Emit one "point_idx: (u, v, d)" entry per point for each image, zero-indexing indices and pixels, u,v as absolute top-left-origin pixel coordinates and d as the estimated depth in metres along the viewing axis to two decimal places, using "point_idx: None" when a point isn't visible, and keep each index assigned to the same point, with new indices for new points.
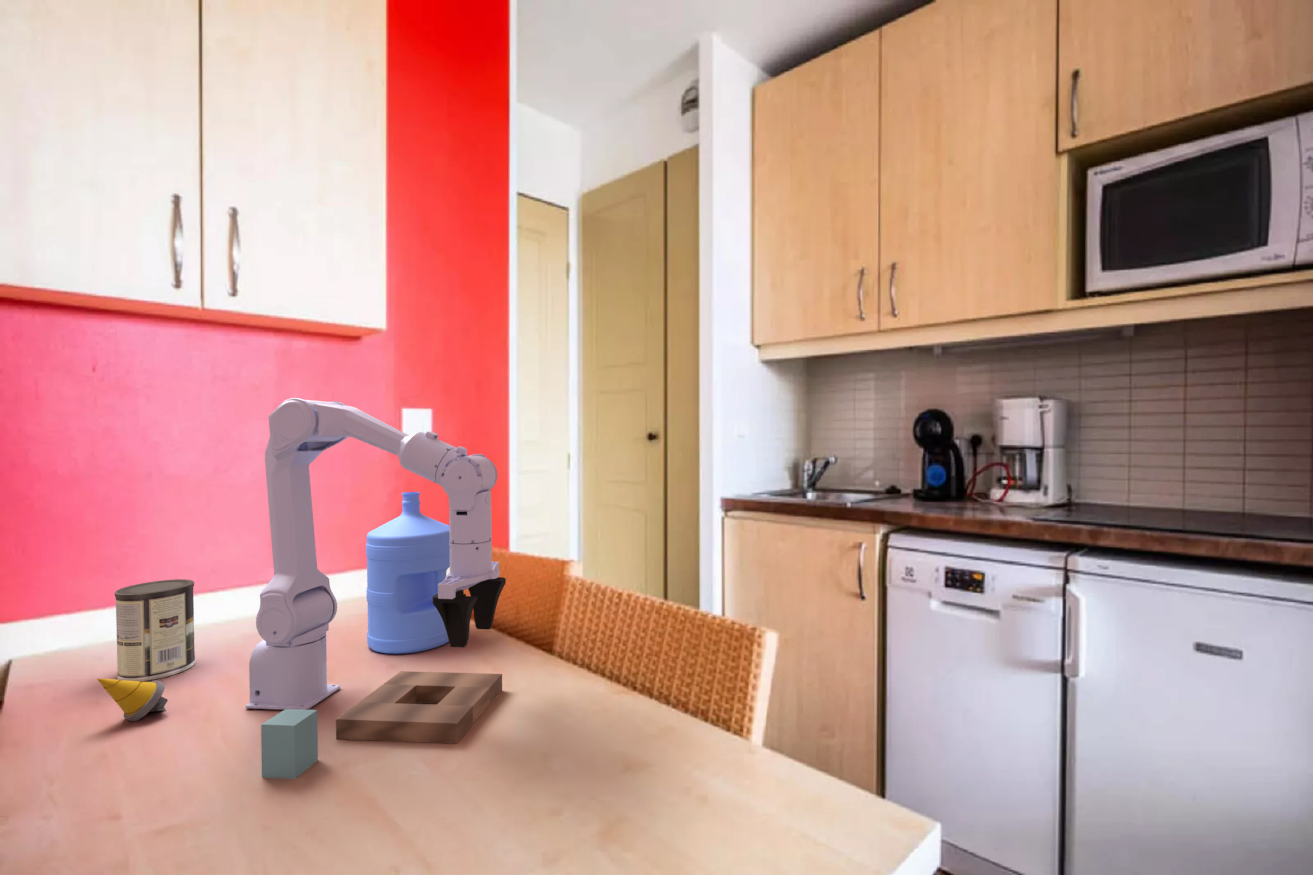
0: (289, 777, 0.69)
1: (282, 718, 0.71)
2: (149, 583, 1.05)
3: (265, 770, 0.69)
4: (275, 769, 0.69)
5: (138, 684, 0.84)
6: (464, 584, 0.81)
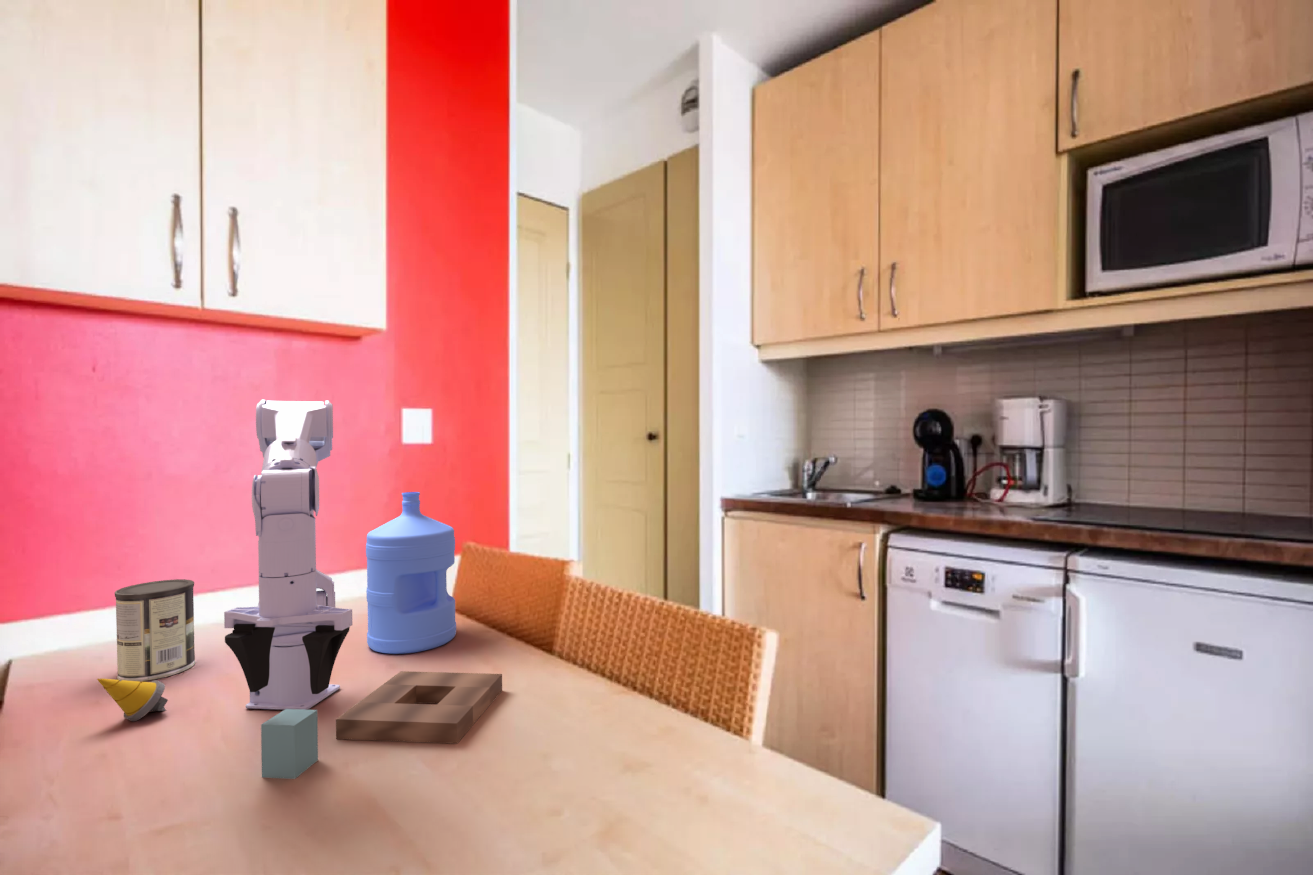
0: (289, 777, 0.69)
1: (282, 718, 0.71)
2: (149, 583, 1.05)
3: (265, 770, 0.69)
4: (275, 769, 0.69)
5: (138, 684, 0.84)
6: (240, 618, 0.70)
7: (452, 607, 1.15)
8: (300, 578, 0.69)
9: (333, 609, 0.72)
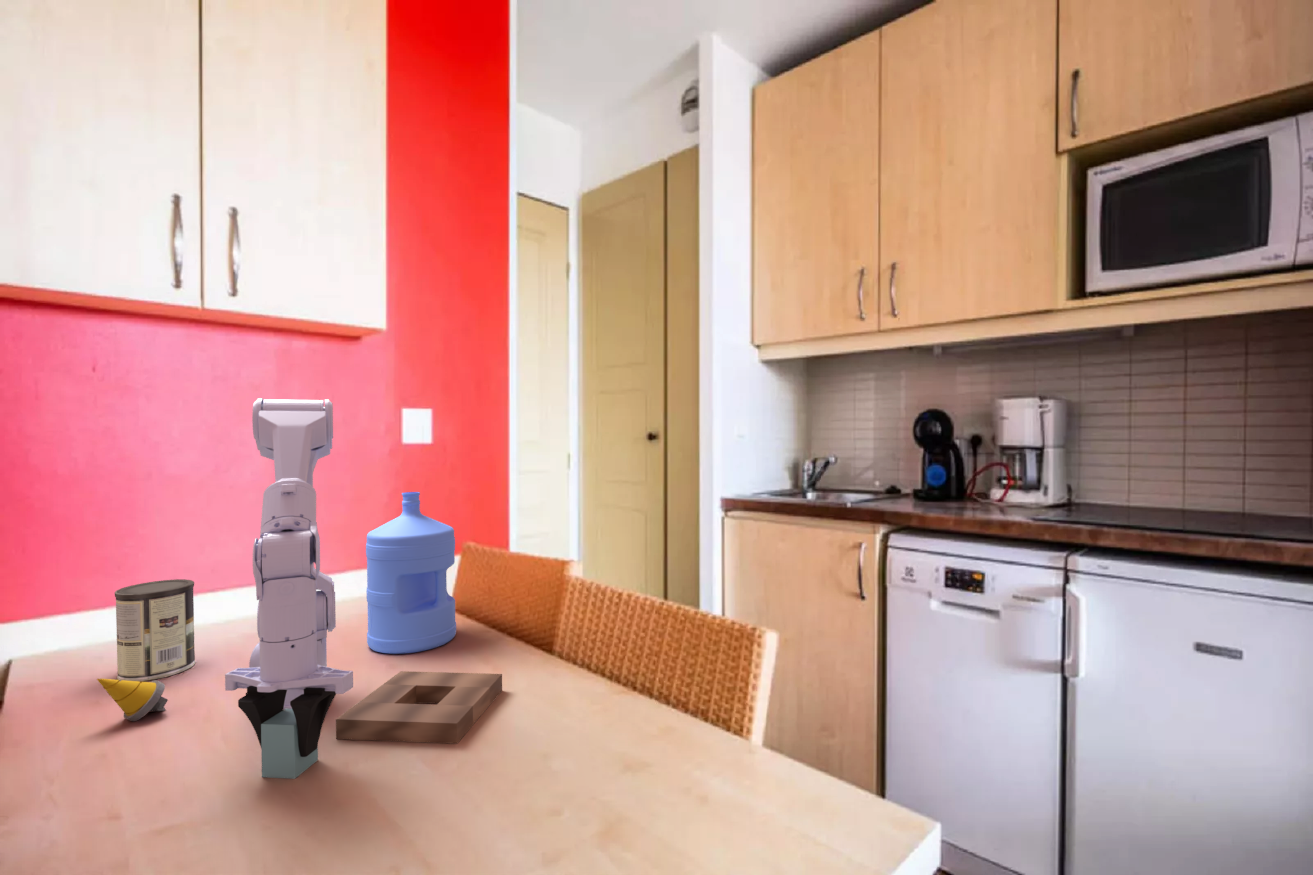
0: (289, 777, 0.69)
1: (282, 717, 0.71)
2: (149, 583, 1.05)
3: (265, 770, 0.69)
4: (275, 769, 0.69)
5: (138, 684, 0.84)
6: (240, 681, 0.70)
7: (452, 607, 1.15)
8: (301, 642, 0.69)
9: (334, 671, 0.72)
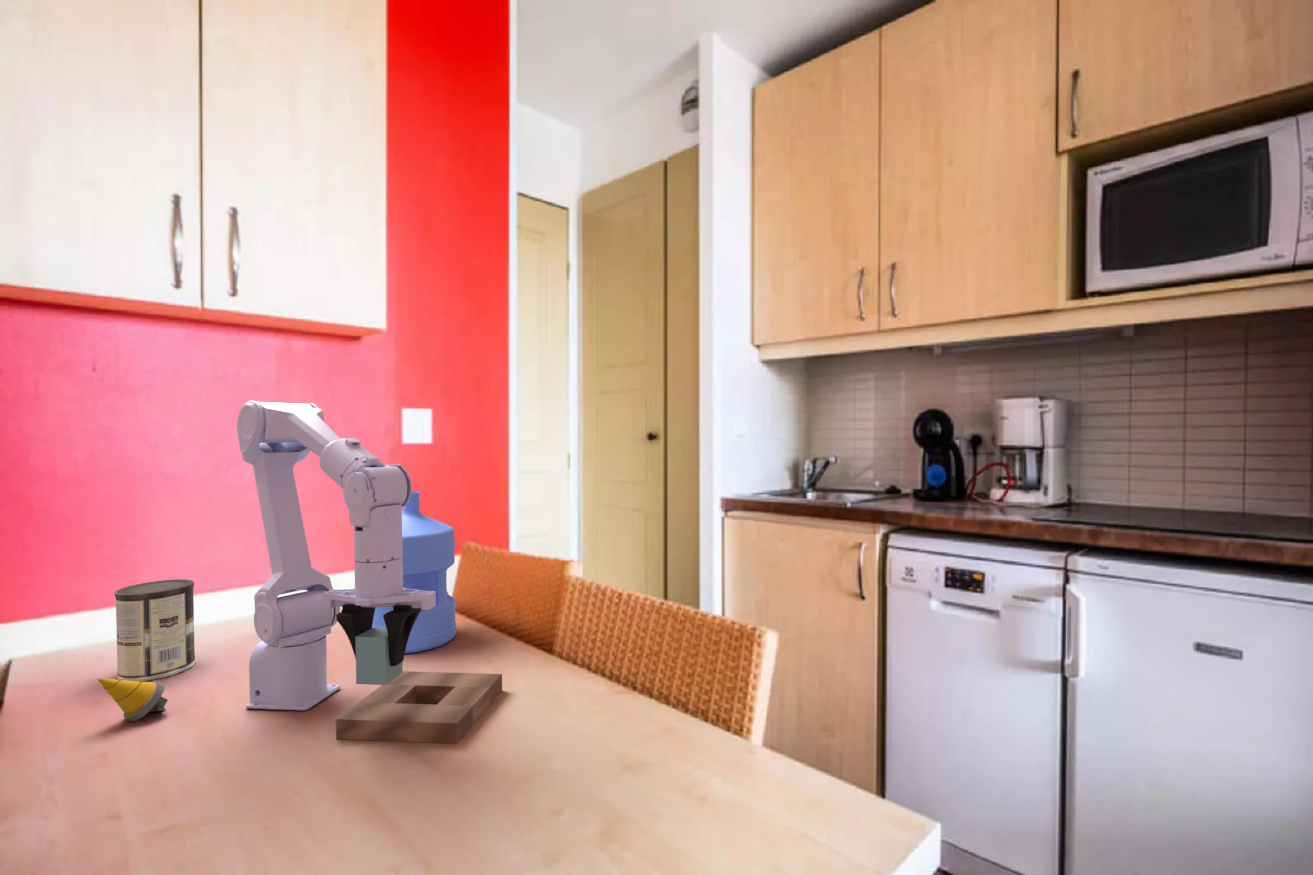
0: (380, 683, 0.78)
1: (372, 633, 0.79)
2: (149, 583, 1.05)
3: (359, 677, 0.78)
4: (368, 676, 0.78)
5: (138, 684, 0.84)
6: (337, 598, 0.79)
7: (452, 607, 1.15)
8: (391, 563, 0.78)
9: (418, 591, 0.80)
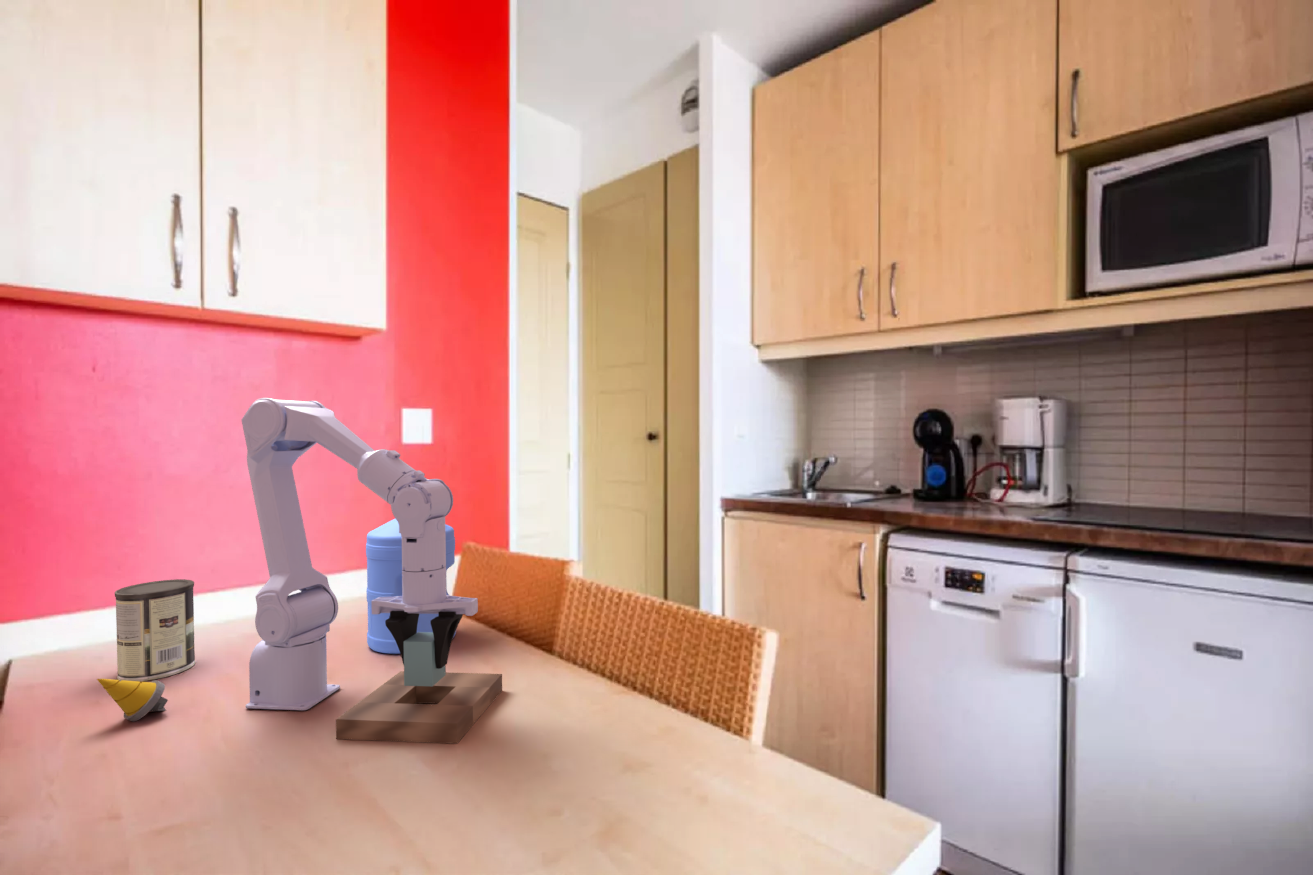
0: (427, 685, 0.83)
1: (418, 637, 0.85)
2: (149, 583, 1.05)
3: (407, 679, 0.83)
4: (415, 678, 0.83)
5: (138, 684, 0.84)
6: (385, 605, 0.84)
7: None
8: (437, 572, 0.84)
9: (461, 598, 0.86)
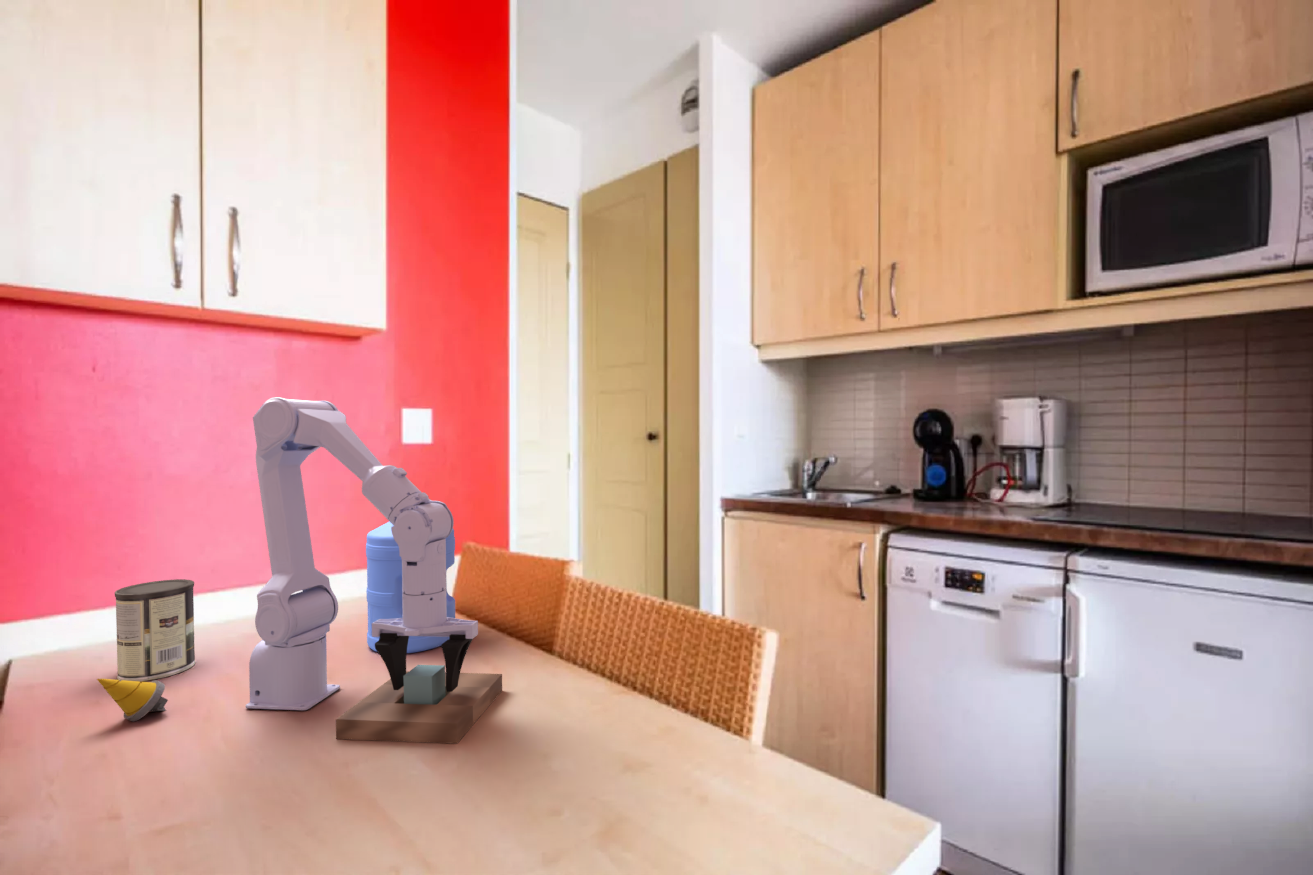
0: None
1: (418, 671, 0.85)
2: (149, 583, 1.05)
3: None
4: None
5: (138, 684, 0.84)
6: (386, 628, 0.84)
7: (452, 607, 1.15)
8: (437, 595, 0.84)
9: (461, 621, 0.86)
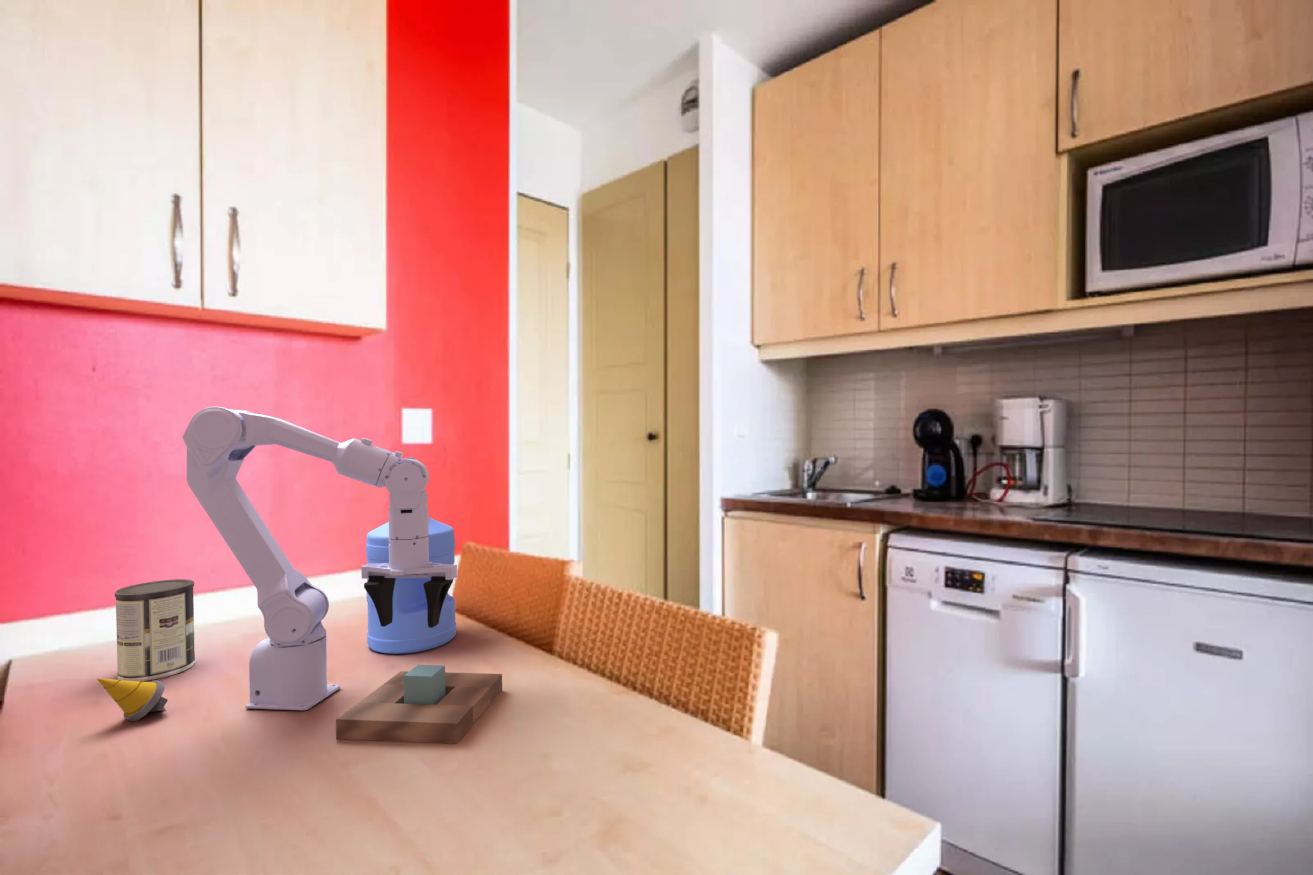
0: None
1: (418, 671, 0.85)
2: (149, 583, 1.05)
3: None
4: None
5: (138, 684, 0.84)
6: (374, 570, 0.93)
7: (452, 607, 1.15)
8: (420, 540, 0.93)
9: (442, 565, 0.95)
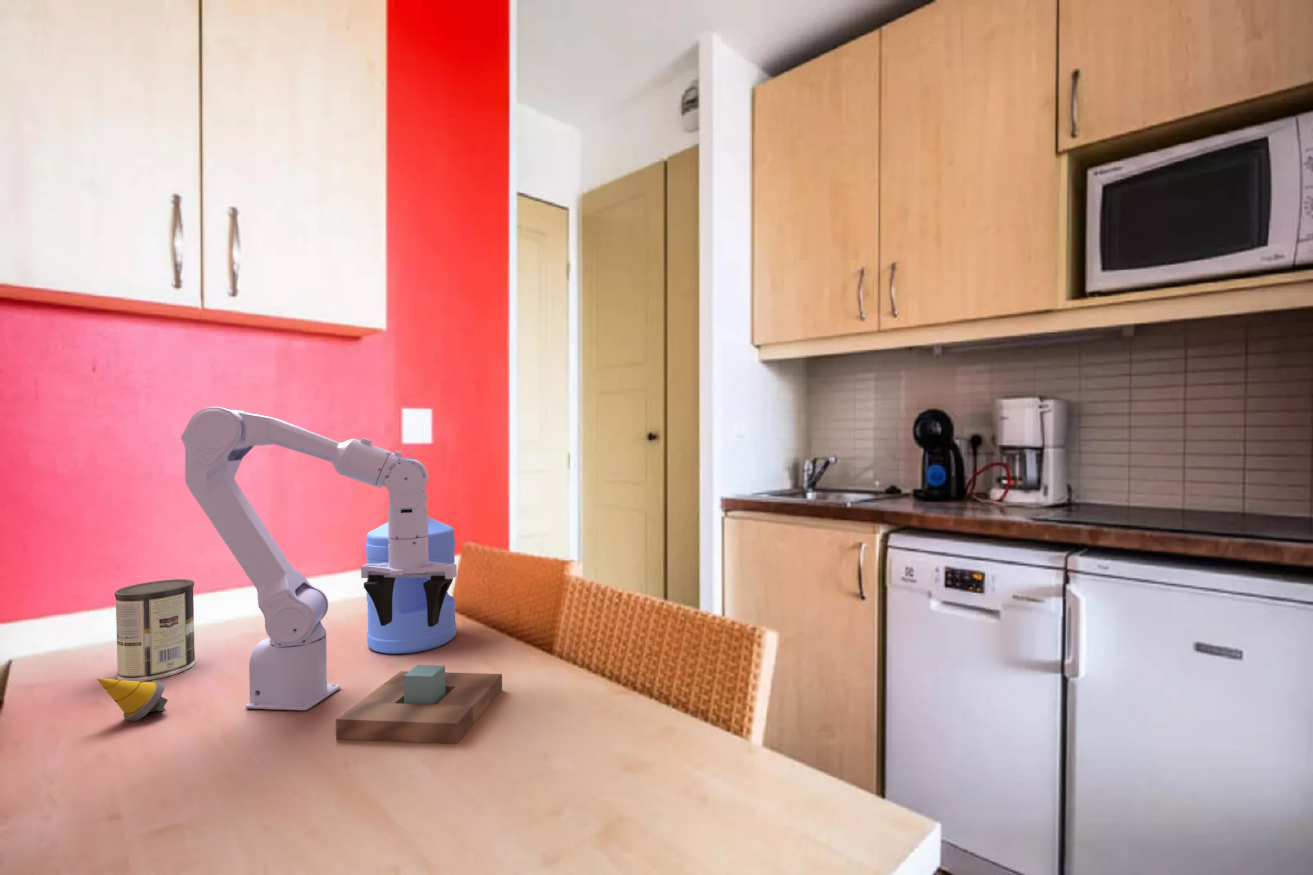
0: None
1: (418, 671, 0.85)
2: (149, 583, 1.05)
3: None
4: None
5: (138, 684, 0.84)
6: (373, 570, 0.94)
7: (452, 607, 1.15)
8: (419, 540, 0.93)
9: (441, 564, 0.95)
